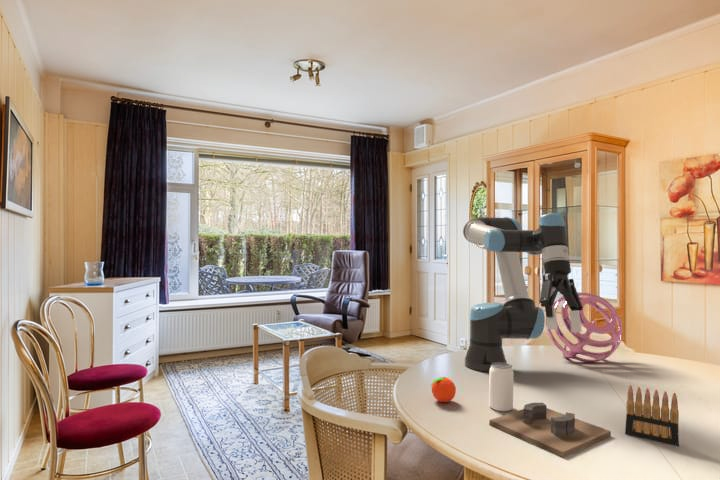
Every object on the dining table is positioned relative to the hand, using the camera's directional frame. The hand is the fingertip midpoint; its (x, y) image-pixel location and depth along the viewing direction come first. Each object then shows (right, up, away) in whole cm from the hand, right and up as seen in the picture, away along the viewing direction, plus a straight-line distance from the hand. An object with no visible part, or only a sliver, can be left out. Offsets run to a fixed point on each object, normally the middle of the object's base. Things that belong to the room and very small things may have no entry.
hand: (565, 330), depth 132 cm
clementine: (-38, -20, -4) cm, 43 cm away
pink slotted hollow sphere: (+28, -21, +44) cm, 57 cm away
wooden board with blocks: (-15, -20, -22) cm, 33 cm away
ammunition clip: (+8, -21, -26) cm, 35 cm away
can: (-22, -20, -8) cm, 31 cm away
